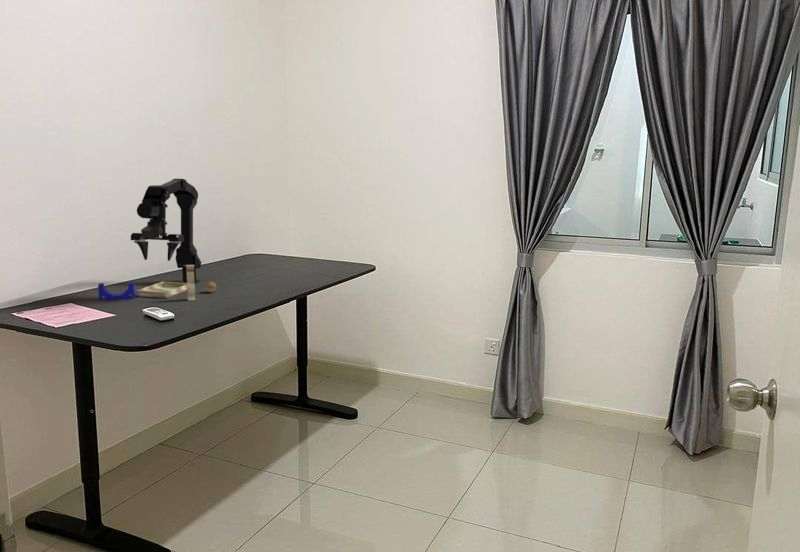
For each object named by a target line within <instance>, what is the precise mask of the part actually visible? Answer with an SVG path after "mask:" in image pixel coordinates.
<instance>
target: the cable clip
mask: <svg viewBox="0 0 800 552" xmlns="http://www.w3.org/2000/svg"><path fill="white" fill-rule="evenodd" d="M97 288H98V301H114V300H117V301H118V300H134V299H135V298H136V290H135V282H134V281H131V282H129V283H128V287H127V289H126V290H125V291H123V292H120V293H117V294H115V293H112V292H110V291H108V290H107V287H106V286H105V284H104V282H103V283H99V284H97Z"/></svg>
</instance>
